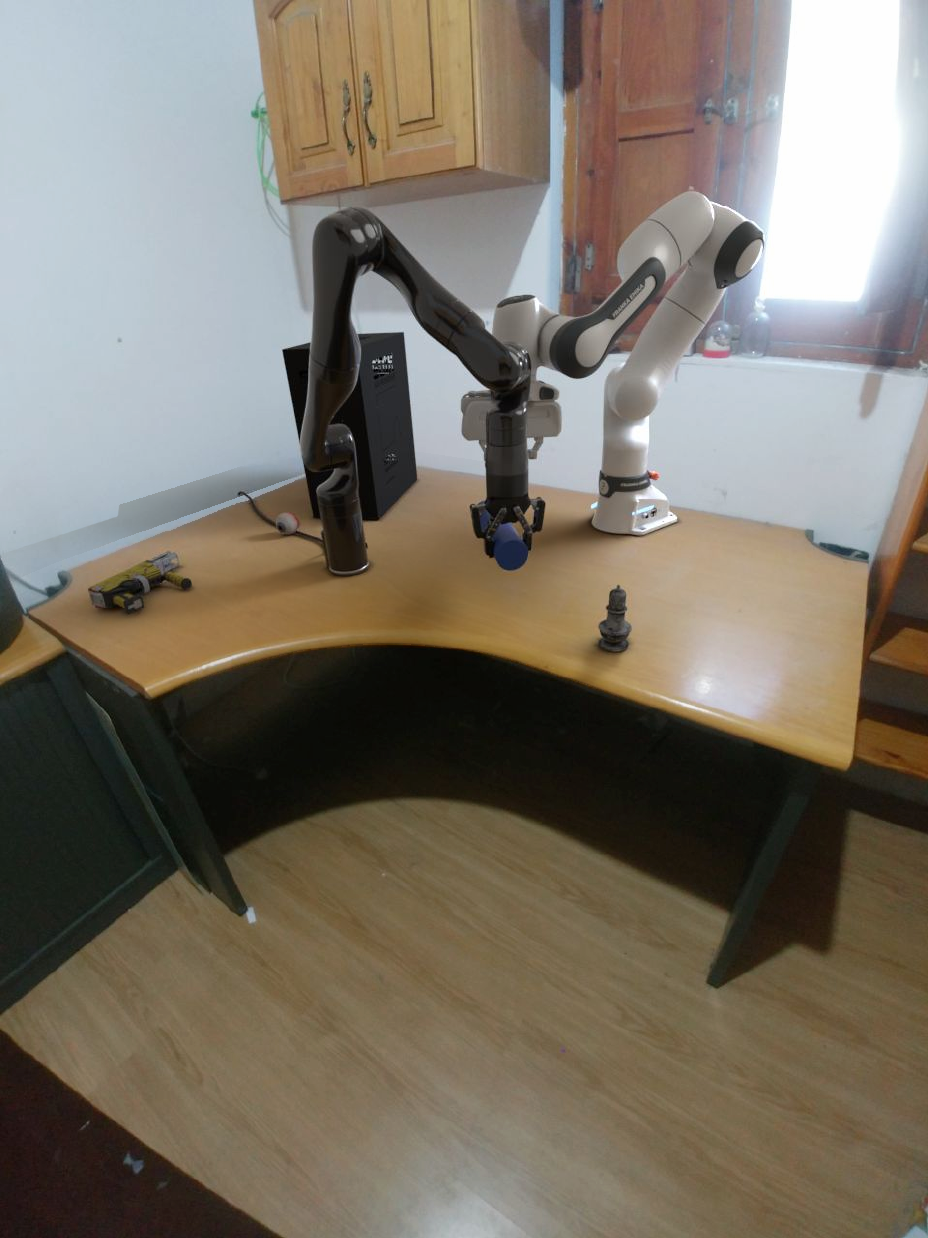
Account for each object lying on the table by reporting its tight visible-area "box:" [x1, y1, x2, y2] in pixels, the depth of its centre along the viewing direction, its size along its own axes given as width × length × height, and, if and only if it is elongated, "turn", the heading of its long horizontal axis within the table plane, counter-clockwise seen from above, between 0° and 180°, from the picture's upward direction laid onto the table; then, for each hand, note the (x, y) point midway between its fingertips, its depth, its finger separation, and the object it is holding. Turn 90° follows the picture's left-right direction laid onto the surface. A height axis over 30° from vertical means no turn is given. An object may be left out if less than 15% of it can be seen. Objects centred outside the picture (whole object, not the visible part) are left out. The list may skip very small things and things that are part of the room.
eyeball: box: [275, 511, 300, 536], centre depth 163 cm, size 6×6×6 cm
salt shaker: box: [597, 584, 633, 653], centre depth 106 cm, size 6×6×12 cm
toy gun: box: [87, 550, 193, 615], centre depth 138 cm, size 5×24×15 cm
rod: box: [476, 499, 529, 572], centre depth 121 cm, size 23×6×6 cm, turn 10°
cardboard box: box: [281, 331, 418, 521], centre depth 178 cm, size 38×20×45 cm, turn 167°
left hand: (508, 554), depth 114 cm, fingers closed on rod, 6 cm apart
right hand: (510, 459), depth 125 cm, fingers open, 8 cm apart
